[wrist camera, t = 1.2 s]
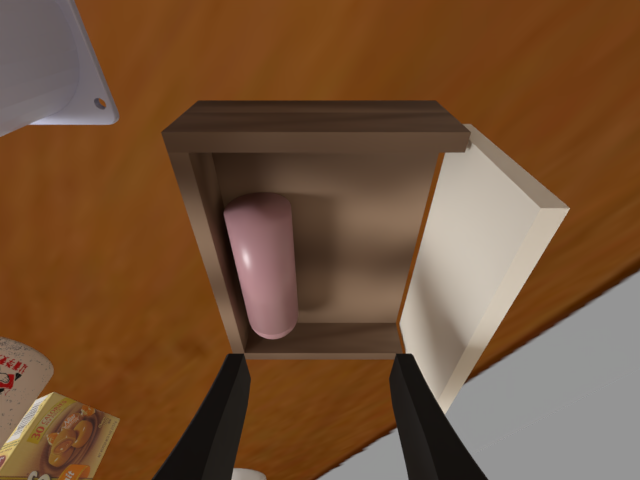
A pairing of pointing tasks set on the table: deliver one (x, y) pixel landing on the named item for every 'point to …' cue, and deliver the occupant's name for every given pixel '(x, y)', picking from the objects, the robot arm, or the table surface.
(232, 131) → the brown wooden open box
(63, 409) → the candy box
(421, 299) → the cream flat board
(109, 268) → the table surface
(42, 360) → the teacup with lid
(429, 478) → the robot arm
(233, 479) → the fruit juice
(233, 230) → the pink tapered cylinder
